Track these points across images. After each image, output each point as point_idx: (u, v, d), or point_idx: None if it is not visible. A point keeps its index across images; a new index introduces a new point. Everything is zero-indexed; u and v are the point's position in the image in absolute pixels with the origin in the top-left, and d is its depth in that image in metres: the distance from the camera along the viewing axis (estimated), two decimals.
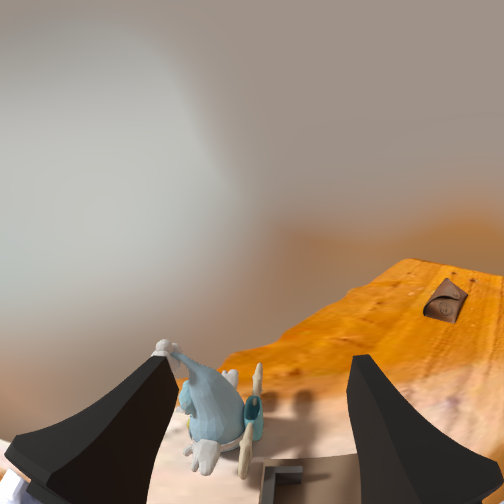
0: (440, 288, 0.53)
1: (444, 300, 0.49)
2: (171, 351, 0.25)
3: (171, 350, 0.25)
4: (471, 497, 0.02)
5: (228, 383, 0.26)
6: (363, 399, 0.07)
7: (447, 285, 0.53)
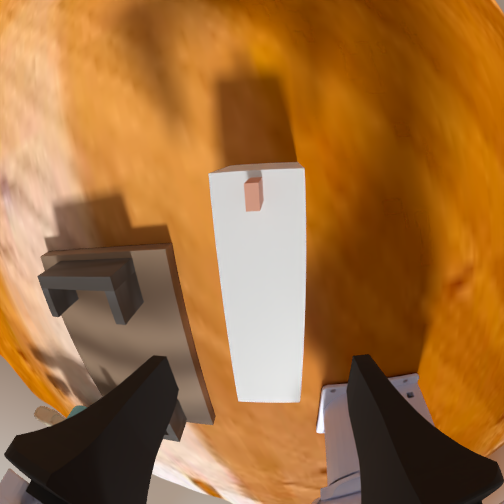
0: None
1: None
2: None
3: None
4: (471, 497, 0.02)
5: None
6: (363, 399, 0.07)
7: None
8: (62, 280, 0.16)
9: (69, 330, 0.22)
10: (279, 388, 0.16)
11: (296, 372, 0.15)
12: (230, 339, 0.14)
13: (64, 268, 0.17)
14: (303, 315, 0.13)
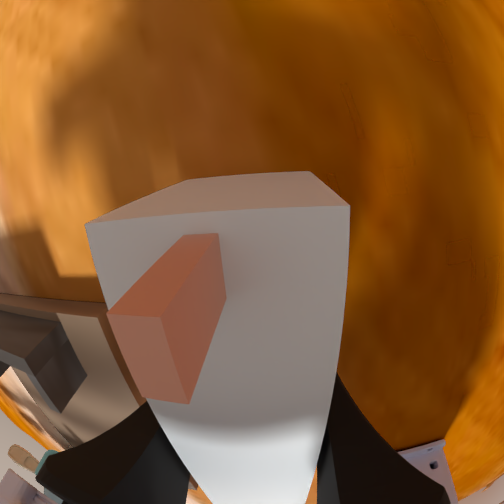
0: None
1: None
2: None
3: None
4: None
5: None
6: None
7: None
8: None
9: (22, 382, 0.14)
10: None
11: (297, 500, 0.07)
12: (194, 475, 0.07)
13: None
14: (314, 465, 0.06)
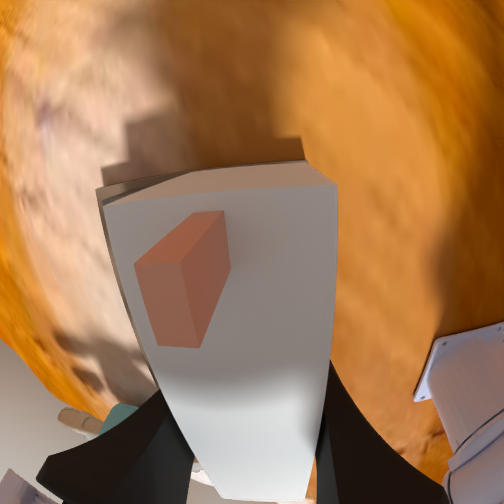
0: None
1: None
2: None
3: None
4: None
5: None
6: None
7: None
8: None
9: (124, 296, 0.18)
10: (276, 494, 0.09)
11: (299, 484, 0.08)
12: (198, 457, 0.08)
13: None
14: (314, 442, 0.07)
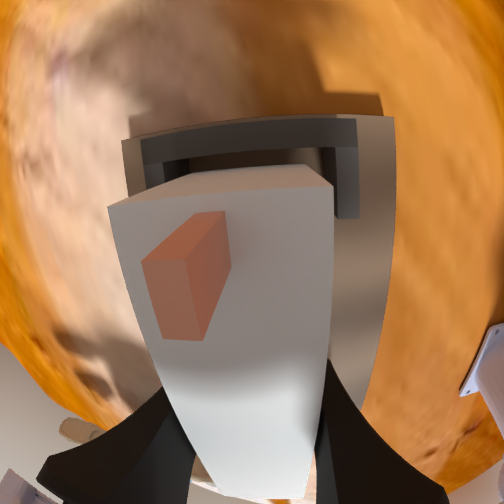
0: None
1: None
2: None
3: None
4: None
5: None
6: None
7: None
8: (219, 133, 0.09)
9: None
10: (275, 491, 0.09)
11: (299, 481, 0.08)
12: (199, 454, 0.08)
13: None
14: (313, 438, 0.07)
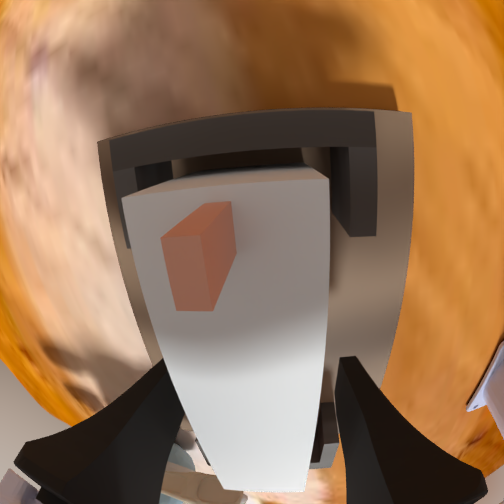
0: None
1: None
2: None
3: None
4: None
5: None
6: (348, 400, 0.07)
7: None
8: (202, 130, 0.07)
9: (133, 300, 0.13)
10: (276, 484, 0.09)
11: (300, 473, 0.09)
12: (202, 443, 0.08)
13: None
14: (313, 425, 0.07)
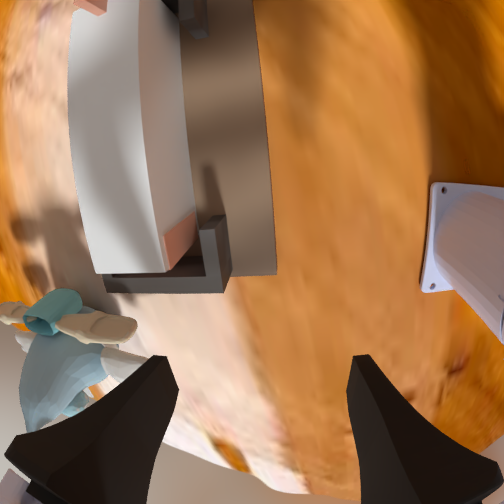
0: None
1: None
2: None
3: None
4: (471, 497, 0.02)
5: (23, 372, 0.13)
6: (363, 399, 0.07)
7: None
8: None
9: None
10: (132, 243, 0.11)
11: (145, 206, 0.11)
12: (74, 163, 0.10)
13: None
14: (139, 108, 0.09)
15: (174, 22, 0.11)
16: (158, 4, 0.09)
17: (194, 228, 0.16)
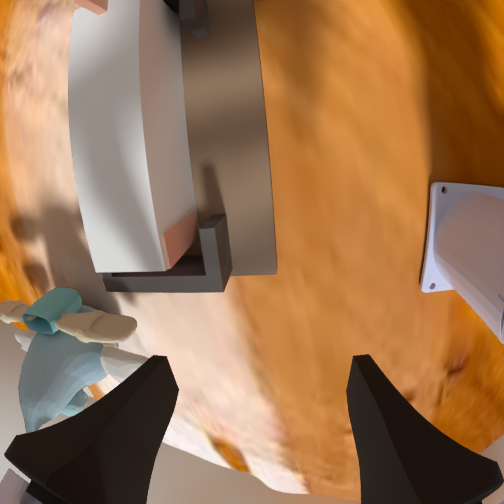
0: None
1: None
2: None
3: None
4: (471, 497, 0.02)
5: (23, 371, 0.13)
6: (363, 399, 0.07)
7: None
8: None
9: None
10: (132, 241, 0.11)
11: (145, 205, 0.11)
12: (74, 162, 0.10)
13: None
14: (139, 107, 0.09)
15: (175, 21, 0.11)
16: (159, 3, 0.09)
17: (194, 228, 0.16)
